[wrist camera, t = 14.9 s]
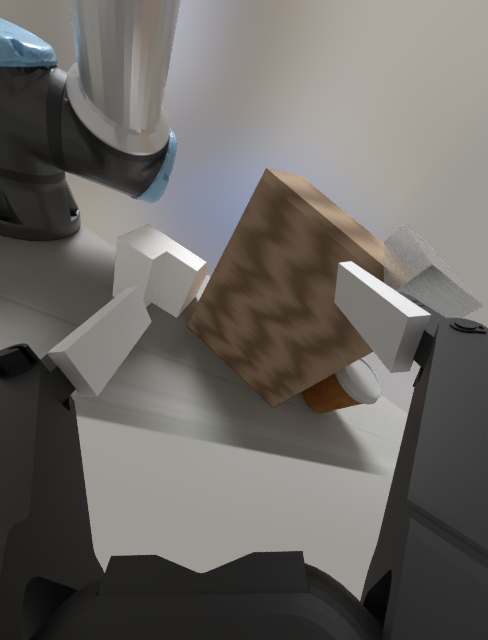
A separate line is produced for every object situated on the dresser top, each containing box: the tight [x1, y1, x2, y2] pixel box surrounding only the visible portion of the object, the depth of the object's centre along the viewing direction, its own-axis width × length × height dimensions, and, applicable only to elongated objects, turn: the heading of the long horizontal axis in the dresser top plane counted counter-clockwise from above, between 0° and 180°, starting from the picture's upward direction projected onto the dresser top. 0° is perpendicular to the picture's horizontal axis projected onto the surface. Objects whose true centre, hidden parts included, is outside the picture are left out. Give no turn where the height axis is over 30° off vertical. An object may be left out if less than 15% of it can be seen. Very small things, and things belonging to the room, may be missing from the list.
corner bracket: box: [112, 224, 208, 318], centre depth 37 cm, size 11×11×12 cm
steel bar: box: [384, 224, 483, 318], centre depth 21 cm, size 4×22×3 cm, turn 147°
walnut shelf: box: [187, 168, 384, 407], centre depth 34 cm, size 22×12×28 cm, turn 57°
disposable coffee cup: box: [303, 358, 382, 413], centre depth 41 cm, size 10×10×12 cm
